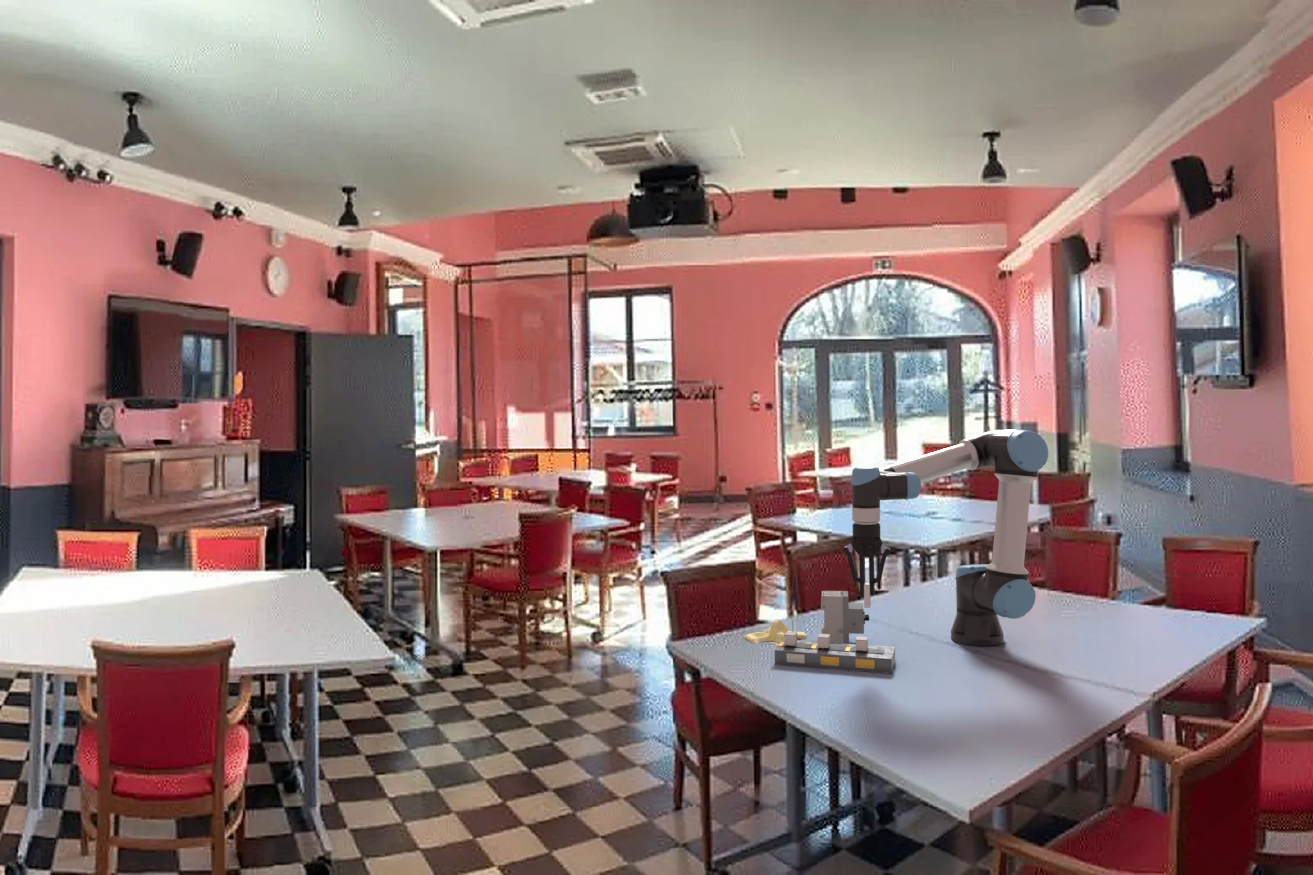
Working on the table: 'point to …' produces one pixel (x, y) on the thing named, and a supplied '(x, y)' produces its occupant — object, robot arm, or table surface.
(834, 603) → the circuit breaker
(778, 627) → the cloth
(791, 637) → the knob
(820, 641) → the knob
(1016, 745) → the table surface
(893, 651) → the console
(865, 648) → the knob
